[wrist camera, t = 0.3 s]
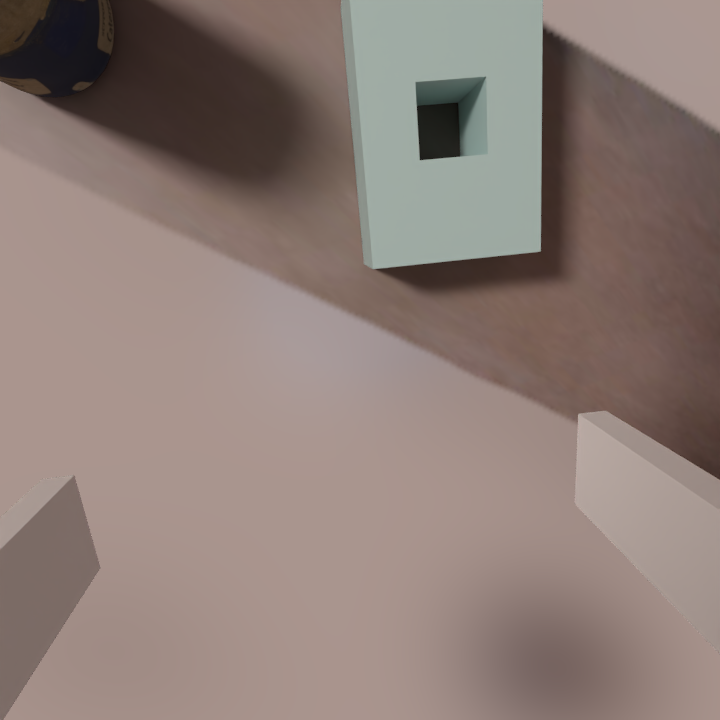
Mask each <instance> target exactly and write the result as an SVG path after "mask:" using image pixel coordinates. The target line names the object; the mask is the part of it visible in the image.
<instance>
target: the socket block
mask: <svg viewBox="0 0 720 720" xmlns="http://www.w3.org/2000/svg"><path fill="white" fill-rule="evenodd" d="M341 17H342V28H343V39H344V50H345V61H346V72H347V83H348V94H349V104H350V115H351V126H352V137H353V148H354V159H355V170H356V181H357V192H358V203H359V214H360V225H361V236H362V247H363V258H364V264H365V265H367V266H368V267H370V268H372V269H379V268H389V267H398V266H408V265H417V264H427V263H437V262H446V261H456V260H465V259H475V258H484V257H494V256H503V255H513V254H522V253H532V252H541V163H542V39H543V0H341ZM457 102H458V110H459V138H460V157H451V158H439V159H428V160H420V155H419V138H418V120H417V106H421V105H433V104H445V103H457Z"/></svg>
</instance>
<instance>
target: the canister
mask: <svg viewBox="0 0 720 720" xmlns="http://www.w3.org/2000/svg"><path fill="white" fill-rule="evenodd" d="M113 40H114V22H113V16H112V11H111V7H110V3H109V0H0V81H2V82H4V83H6V84H8V85H10V86H12V87H14V88H16V89H19V90H21V91H24V92H27V93H30V94H34V95H39V96H44V97H61V96H67V95H71V94H75V93H77V92H79V91H82V90H84V89H86V88H87V87H88V86H90V85H91V84H92V83H94V82H95V80H96V79H97V78H98V77H99V76H100V75H101V74H102V72H103V71H104V69H105V67H106V65H107V63H108V61H109V58H110V56H111V52H112V48H113Z"/></svg>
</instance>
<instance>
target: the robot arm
mask: <svg viewBox="0 0 720 720" xmlns="http://www.w3.org/2000/svg"><path fill="white" fill-rule="evenodd" d="M575 505H576V506H578V508H579V509H580V510H581V511H582V512H583V513H584V514H585V515H586V516H587V517H588V518H589V519H590V520H591V521H592V522H593V523H594V524H595V525H596V526H597V527H598V529H599V530H601V532H602V533H604V535H605V536H606V537H607V538H608V539H609V540H610V541H611V542H612V543H613V544H614V545H615V546H616V547H617V548H618V549H619V550H620V551H621V552H622V553H623V554H624V555H625V556H626V558H628V560H629V561H630V562H631V563H632V564H633V565H634V566H635V567H636V568H637V569H638V570H639V571H640V572H641V573H642V574H643V575H644V576H645V577H646V578H647V579H648V580H649V581H650V582H651V583H652V584H653V585H654V587H655V588H656V589H657V590H658V591H659V592H660V593H661V594H662V595H663V596H664V597H665V598H666V599H667V600H668V601H669V602H670V603H671V604H672V605H673V606H674V607H675V608H676V609H677V610H678V611H679V612H680V614H681V615H682V616H683V617H684V618H685V619H686V620H687V621H688V622H689V623H690V624H691V625H692V626H693V627H694V628H695V629H696V630H697V631H698V632H699V633H700V634H701V635H702V636H703V637H704V638H705V639H706V640H707V641H708V643H710V645H711V646H712V647H713V648H714V649H715V650H716V651H717V652H718V653H719V654H720V480H719V479H717V478H716V477H714V476H712V475H711V474H709V473H707V472H706V471H704V470H703V469H701V468H699V467H698V466H696V465H694V464H693V463H691V462H689V461H688V460H686V459H684V458H683V457H681V456H679V455H678V454H676V453H675V452H673V451H671V450H670V449H668V448H666V447H665V446H663V445H661V444H660V443H658V442H656V441H655V440H653V439H651V438H650V437H648V436H647V435H645V434H643V433H642V432H640V431H638V430H637V429H635V428H633V427H632V426H630V425H628V424H627V423H625V422H623V421H622V420H620V419H619V418H617V417H615V416H614V415H612V414H610V413H609V412H607V411H599V412H591V413H582V414H578V436H577V460H576V483H575ZM99 569H100V565H99V561H98V558H97V554H96V551H95V547H94V544H93V540H92V536H91V533H90V529H89V526H88V522H87V519H86V516H85V512H84V508H83V504H82V501H81V497H80V494H79V491H78V487H77V483H76V480H75V476H74V475H72V476H63V477H55V478H47V479H42V480H41V481H40V482H39V483H37V484H36V485H35V486H34V487H33V488H32V489H31V490H30V491H29V492H28V493H26V494H25V495H24V496H23V497H22V498H21V499H20V500H19V501H18V502H16V503H15V504H14V505H13V506H12V507H11V508H10V509H9V510H8V511H6V512H5V513H4V514H3V515H2V516H1V517H0V720H3V719H4V718H5V716H6V714H7V713H8V711H9V710H10V708H11V707H12V705H13V704H14V702H15V700H16V699H17V697H18V696H19V694H20V693H21V691H22V690H23V688H24V686H25V685H26V683H27V682H28V680H29V679H30V677H31V675H32V674H33V672H34V671H35V669H36V668H37V666H38V665H39V663H40V661H41V660H42V658H43V657H44V655H45V654H46V652H47V650H48V649H49V647H50V646H51V644H52V643H53V641H54V639H55V638H56V636H57V635H58V633H59V632H60V630H61V629H62V627H63V625H64V624H65V622H66V621H67V619H68V618H69V616H70V614H71V613H72V611H73V610H74V608H75V607H76V605H77V604H78V602H79V600H80V599H81V597H82V596H83V594H84V593H85V591H86V589H87V588H88V586H89V585H90V583H91V582H92V580H93V579H94V577H95V575H96V574H97V572H98V571H99Z"/></svg>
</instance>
